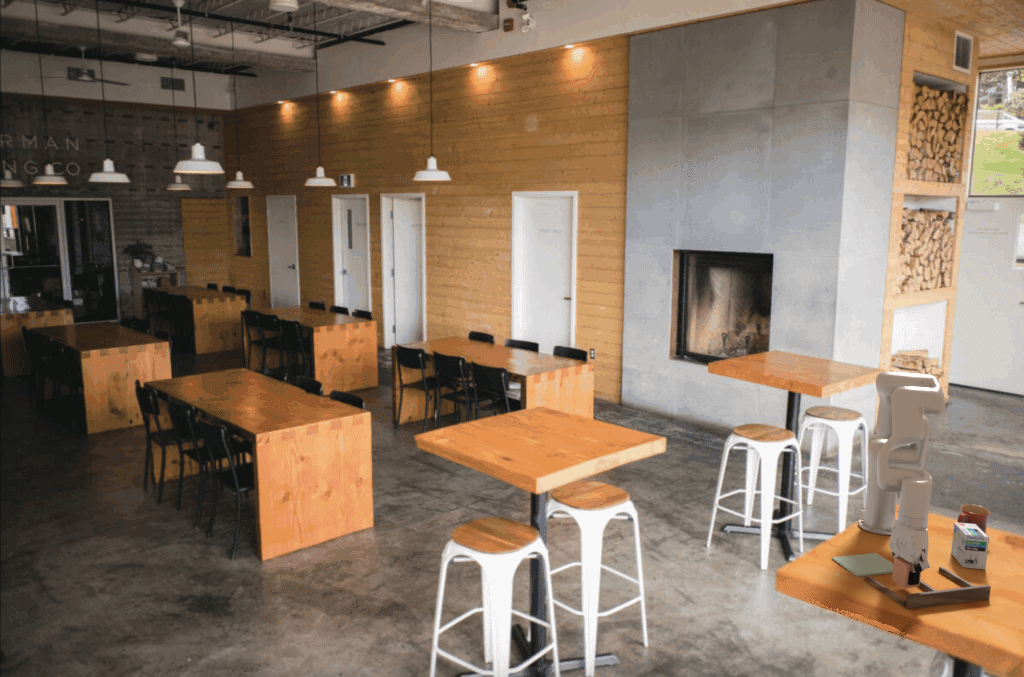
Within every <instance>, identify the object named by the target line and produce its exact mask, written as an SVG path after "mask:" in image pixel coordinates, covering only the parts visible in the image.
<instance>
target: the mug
mask: <svg viewBox="0 0 1024 677" xmlns="http://www.w3.org/2000/svg"><path fill="white" fill-rule="evenodd" d="M960 511H961V513H960V514H959V515H958V516H957V521H956V522H959V523H968V524H976V525H977V526H978V527H979V528H980V529H981V530H982V531H983V532H984V533H985V534H986V535H987V526H988V519H989V517H990V515H991V514H992V513H991V511H990V510H989V509H988V508H986V507H985V506H981V505H976V504H962V505H960Z"/></svg>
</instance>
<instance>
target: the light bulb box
mask: <svg viewBox="0 0 1024 677" xmlns="http://www.w3.org/2000/svg"><path fill="white" fill-rule="evenodd" d="M989 542H990V536H989V535H988V534H987V533H986V534H985V533H984V532H983V531H982V530H981V529H980V528H979V527H978V526H977V525H976V524H968V523H959V522H957V521H954V524H953V532H952V542H951V551H950V553H951V555H952V556H953V557H954V559H955V560H956V561H957V562H958V563H959V564H960V566H961V567H962V568H965V569H966V568H967V569H974V570H975V569H976V570H977V569H978V570H986V569H987V559H988V550H989Z"/></svg>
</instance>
